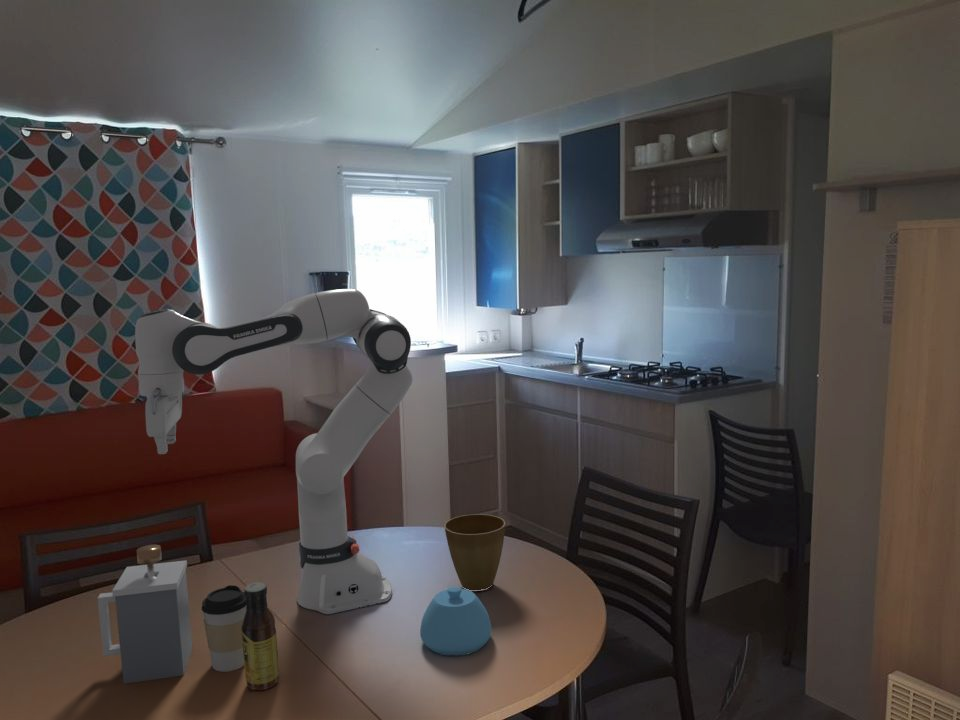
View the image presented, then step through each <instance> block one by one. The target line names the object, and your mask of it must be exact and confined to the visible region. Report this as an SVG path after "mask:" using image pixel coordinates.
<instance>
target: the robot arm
mask: <svg viewBox="0 0 960 720" xmlns="http://www.w3.org/2000/svg"><path fill="white" fill-rule="evenodd" d="M134 332H135V333H134V334H135V335H134V339H135V351H136V352H135V353H136V356H137V359H138V363H139V364H138V370H137V375H138V376H137V377H138V384H139V395H140V396H141V397H146V401H145V408H144V409H145V411H144V412H145V426H146V427H145V429H146V430H145V431H146V434H147V436H148V437H149V438H152V437H153V439H154V442H155V445H156V448H157V449H156V450H157V454H158V455H165V454H167V452H168V451H169V450H168V448H169V447H168V445H173V444H175V443H176V442H177V439H176V436H177V435H176V433H177V423H178V421H179V420H180V419H181V417H182V413H183V393H184V392H185V378H184V371H185V372H186V373H188V374H192V375H197V376H198V375H206V374H209V373H212V372H214V371H215V370H217V369H218V368H220V367H221V366H222V365H223V364H225V363H226V362H228V361H229V360H231V359H232V358H235V357H236V358H237V357H239V356H243V355H246V354H251V353H253V352H257V351H261V350H265V349H269V348H273V347H282V346H298V345H299V346H300V345H301V346H302V345H311V344H319V343H322V342H327V341H330V340H335V339H337V338H339V337H340V338H344V337H347V338H348V337H349V338H352V339H353V342H354V343H355V345H356V346H357V348H358V349H359V350H360V351H361V352H362V354H363V355H364V356H365V357H366V358H368V361H369V363H368V367H367V369H366V371H365V373H364V375H363V376H362V377H360V379H359V380H358V381H357V382H356V384H354V385H353V387H352V388H351V389H350V390H349V391H348V392H347V393H346V394H345V395H344V397H343V398H342V399H341V400H340V402H339V403H337V405H336V406H335V408H334V409H333V411H332V412H331V413H330V415H329V416H328V418H327V419H326V421H325V422H324V423H323V425H322V426H321V427H320V429H319V431H318V432H316V433H312V434H310V435H308V436H306V437H305V438H304V439H302V440H301V441H300V442H299V444H298V446H297V448H296V451H295V476H296V484H297V485H296V486H297V501H298V502H297V504H298V507H297V508H298V520H299V536H300V537H299V538H300V541H299V543H298V545H299V546H298V558H299V560H298V562H299V564H300V567H301V568H300V569H301V571H300V584H299V590H298V594H297V595H298V596H297V598H296V599H297V604H298V605H299V606H301V607H303V608H305V609H307V610H313V611H317V612H320V613H322V614H324V615H331V614H332V615H333V614H336V613H340V612H345V611H350V610H354V609H359V607H360V608H362V607H363V606H364V607H368V606H367V605H369V606H374V605H377V604H376V603H378V604H381V603H382V602H383V603H386V602H388V601H389V600H390V599H391V597H392V595H393V587H392V584H391V582H390V580H389V579H388V578H387V577H385V576H383V575H382V572H381V569H380V567H379V565H378V564H377V563H376V561H375V560H374V559H372V558H370V557H368V556H366V555H365V554H363V553H361V552H360V545H359V544H358V543H357V540H356V539H355V537H354V536H349V535H348V523H347V522H348V521H347V520H348V518H347V506H346V505H347V503H346V495H345V494H346V492H345V480H344V477H345V476H346V475H347V473H348V472H349V470H350V469H351V468H352V466H353V465H354V464H355V462H356V461H357V459H359V456H360V455H361V454H362V452H363V450H364V449H365V447H366V446H367V444H368V443H369V441H370V440H371V439H372V437H373V436H374V435H375V434H376V433H377V432H378V430H379V429H381V427H382V425H384V423H385V422H386V421H387V420H388V418H389V417H390V416H391V415H392V414H393V412H394V411H395V410H396V409H397V408H398V406H399V405H400V404H401V402H402V401H403V399H404V397H405V396H406V394H407V393H408V391H409V390H410V387H411V386H412V383H413V374H412V372H411V370H410V369H409V367H408V366H407V364H408V359H409V358H408V357H409V354H410V351H411V346H412V340H411V335H410V332H409V330H408V328H407V327H406V326H405V325H404V324H403V323H401V322H400V321H399V320H398V319H397V318H395V317H393V316H391V315H388V314H386V313H385V312H381V311H379V310H375V309H371V308H370V306H369V302H368V300H367V298H366V297H365V295H364V294H363V293H362V292H361V291H359V290H358V289H356V288H355V289H354V288H340V289H339V288H338V289H329V290H324V291H323V290H322V291H319V292H313V293H309V294H306V295H303V296H299V297H297V298H295V299H293V300H290V301H288V302H286V303H284V304H283V305H282V306H280V307H279V308H278V309H277V310H276V311H273V313H271V314H269V315H267V316H265V317H262V318H259V319H256V320H251V321H247V322H243V323H240V324H239V323H238V324H235V325H232V326H227V327H217V326H215V325H214V324H211V323H208V322H203V321H199V320H195V319H192V318H190V317H187V316H184V315H182V314H180V313H179V312H177V311H175V310H174V309H173V308H163V309H158V310H153V311H150V312H145V313H144V314H142V315H140V316H139V317H138V319H136V323H135V329H134ZM364 607H363V608H364Z"/></svg>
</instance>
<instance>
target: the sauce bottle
mask: <svg viewBox="0 0 960 720" xmlns="http://www.w3.org/2000/svg"><path fill="white" fill-rule="evenodd" d="M267 588H268V587H267V584H266V583H264V582H259V581H258V582H252V583H250V584H248V585H246V586H245V587H244V591H243V592H245V597H246V605H247V606H246V613H245V617H244V620H243V624H242V627H241V631H242V643H243V656H244V666H243V667H244V675H245V676H244V677H245V681H246V685H247V688H249V690H252V691H264V690H268V689H271V688H273V687H275V685H277V683H278V682H279V680H280V674H279V673H280V667H279V654H278V642H277V641H278V639H277V628H276V620H275V615H274V614H273V613H272V611H271V610H270V609H269V608H268V602H267V600H268V599H267V592H268V589H267Z"/></svg>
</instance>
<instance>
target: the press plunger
mask: <svg viewBox="0 0 960 720" xmlns="http://www.w3.org/2000/svg"><path fill="white" fill-rule="evenodd" d="M161 547H162V546H161V545H160V544H148V545H147V544H146V545H143V546H141V547H138V548H137V549H136V558H137V559H136V560H137V564H138V565H147V571H148V578H149V577H155V575H154V564H157V563H158V562H160V561H161V560H162V557H163V556H162V548H161Z"/></svg>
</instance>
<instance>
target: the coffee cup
mask: <svg viewBox="0 0 960 720" xmlns="http://www.w3.org/2000/svg"><path fill="white" fill-rule="evenodd" d="M246 606H247V605H246V597H245V591H243V590H242V589H241V588H240V587H239V586H237V585H232V584H231V585H227V586H224V587H222V588H221V587H220V588H217V589H215V590H213V591H211V592H209V593H208V594H207V596H206V597H205V598H204V599H203V600H202V603H201V610H202V612H203V618H204V619H203V624H204V629H205V636H206V640H207V641H206V642H207V646H208V649H209V655H210V660H211V666H212V668H213V670H215V671H218V672H223V673H224V672H225V673H226V672H232V671H235V670H238V669H240V668H242V667H244V656H243V643H242V631H241V627H242V624H243V620H244V617H245V613H246Z"/></svg>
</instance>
